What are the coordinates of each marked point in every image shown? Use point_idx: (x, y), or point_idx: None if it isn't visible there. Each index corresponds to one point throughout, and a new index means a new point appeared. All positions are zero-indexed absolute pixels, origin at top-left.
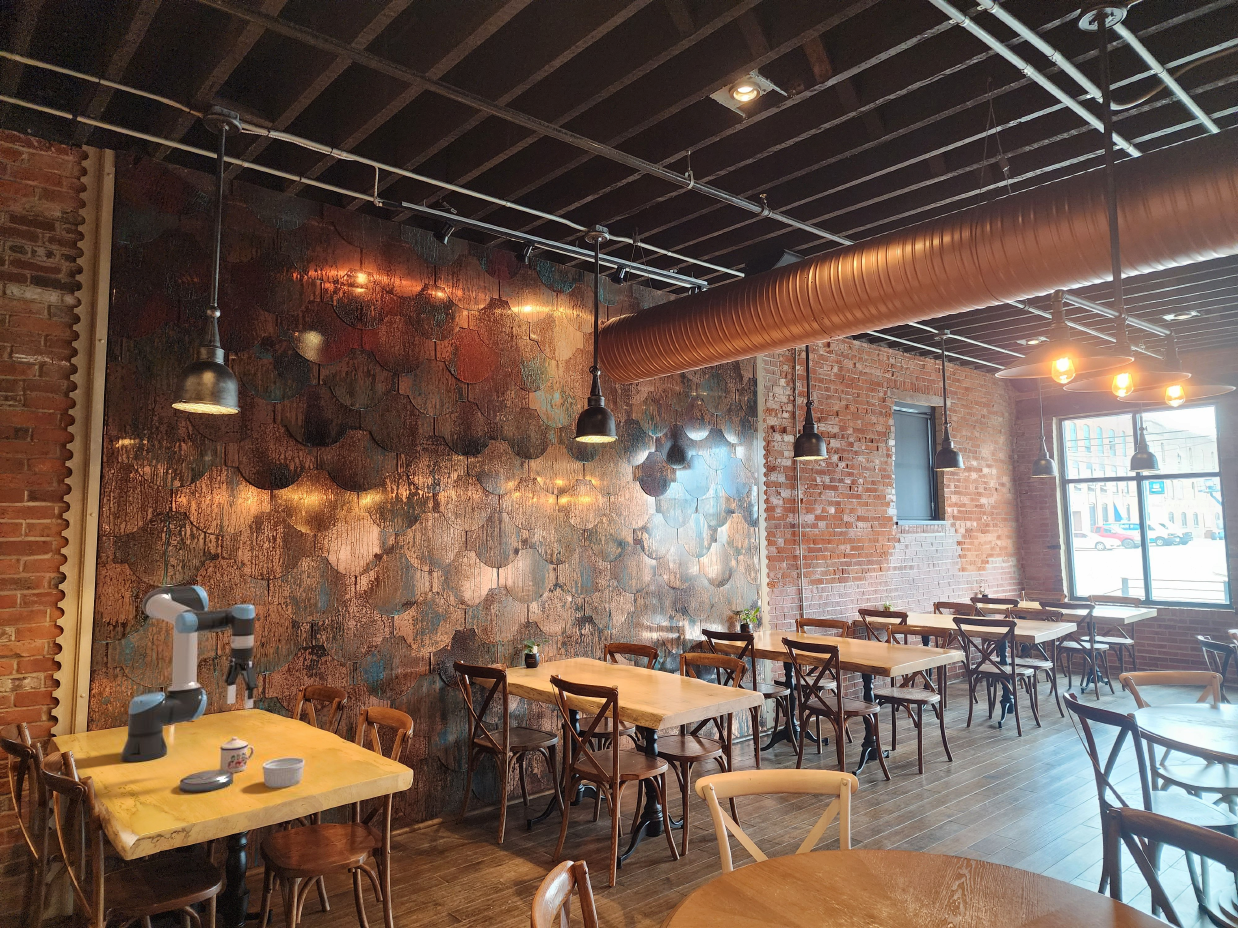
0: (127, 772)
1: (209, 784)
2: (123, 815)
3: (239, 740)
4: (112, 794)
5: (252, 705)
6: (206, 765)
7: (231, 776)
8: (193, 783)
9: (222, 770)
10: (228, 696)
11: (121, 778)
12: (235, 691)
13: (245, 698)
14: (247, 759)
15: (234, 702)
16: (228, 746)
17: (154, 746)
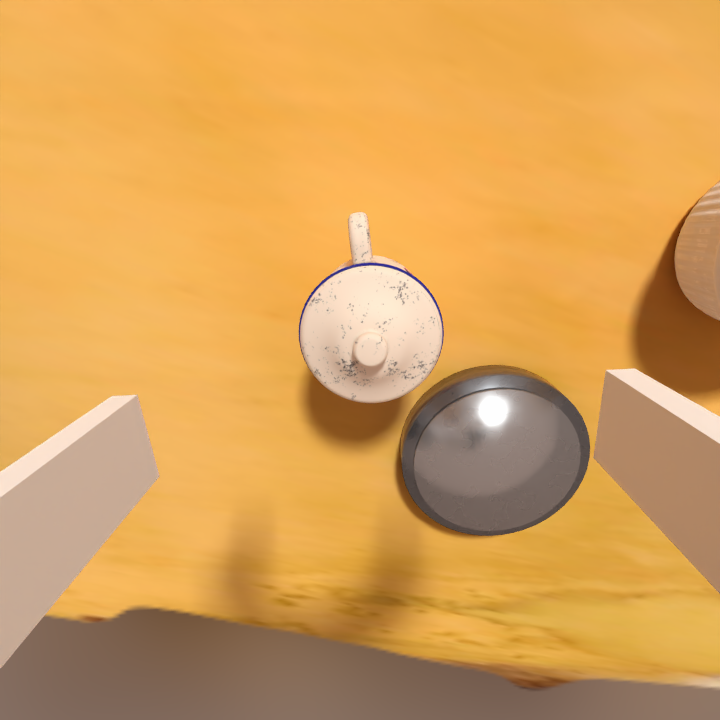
0: (115, 550)
1: (580, 480)
2: (558, 657)
3: (391, 324)
4: (339, 629)
5: (649, 386)
6: (213, 355)
7: (564, 398)
8: (533, 517)
9: (469, 400)
10: (102, 539)
11: (179, 577)
12: (18, 489)
13: (705, 555)
14: (371, 249)
15: (136, 404)
16: (407, 385)
17: None
